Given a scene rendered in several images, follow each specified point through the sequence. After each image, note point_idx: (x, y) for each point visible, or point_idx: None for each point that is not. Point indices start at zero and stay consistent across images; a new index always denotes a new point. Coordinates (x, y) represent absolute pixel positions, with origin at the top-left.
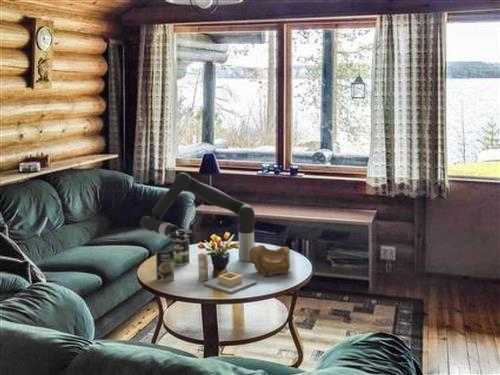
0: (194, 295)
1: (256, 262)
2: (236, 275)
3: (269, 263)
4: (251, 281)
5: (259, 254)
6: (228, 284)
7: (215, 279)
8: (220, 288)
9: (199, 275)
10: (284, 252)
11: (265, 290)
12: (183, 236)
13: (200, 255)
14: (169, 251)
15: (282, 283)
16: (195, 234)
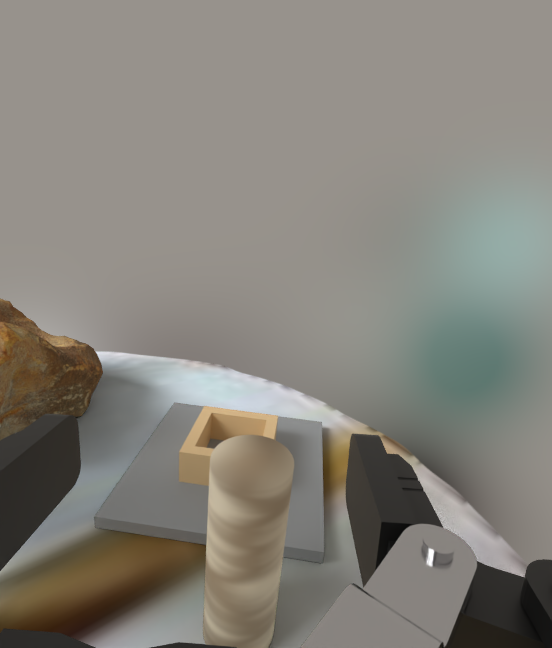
0: (454, 520)
1: (12, 402)
2: (207, 423)
3: (89, 347)
4: (184, 412)
5: (45, 342)
6: None
7: None
8: (322, 458)
9: (275, 607)
10: (7, 307)
11: (227, 383)
12: (370, 440)
13: (283, 463)
14: None
15: (144, 371)
16: (55, 417)
